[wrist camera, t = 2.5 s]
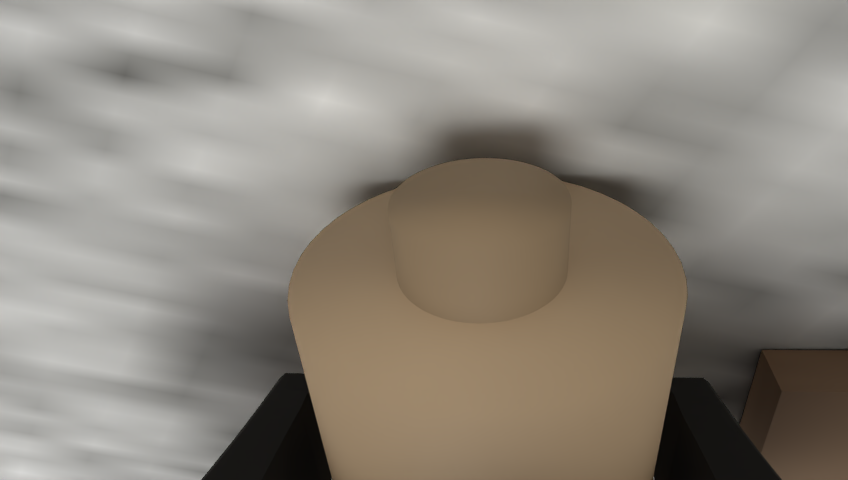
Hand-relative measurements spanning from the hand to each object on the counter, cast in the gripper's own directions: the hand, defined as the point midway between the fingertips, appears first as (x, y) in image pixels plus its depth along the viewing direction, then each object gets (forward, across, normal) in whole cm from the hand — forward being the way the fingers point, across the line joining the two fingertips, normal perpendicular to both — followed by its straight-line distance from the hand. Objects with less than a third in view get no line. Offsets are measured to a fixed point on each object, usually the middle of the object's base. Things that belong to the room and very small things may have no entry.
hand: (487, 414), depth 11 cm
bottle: (+2, 0, 0) cm, 2 cm away
